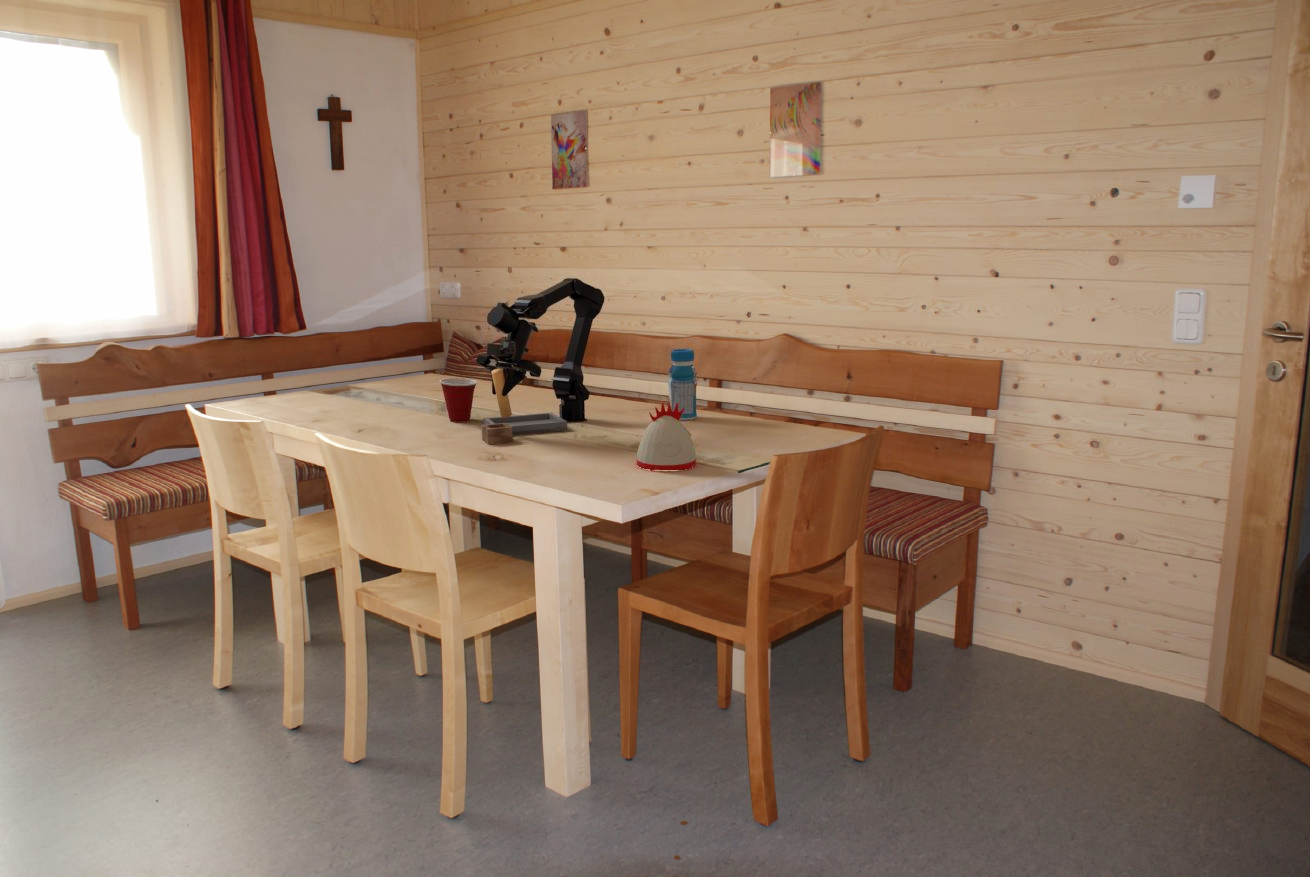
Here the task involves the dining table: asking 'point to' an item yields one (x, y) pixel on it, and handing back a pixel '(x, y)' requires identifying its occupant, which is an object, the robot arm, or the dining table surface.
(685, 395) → the beverage bottle
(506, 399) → the tan dowel pin
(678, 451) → the chicken hat
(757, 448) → the dining table surface
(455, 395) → the plastic cup
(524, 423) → the charcoal tray
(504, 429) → the walnut socket block
